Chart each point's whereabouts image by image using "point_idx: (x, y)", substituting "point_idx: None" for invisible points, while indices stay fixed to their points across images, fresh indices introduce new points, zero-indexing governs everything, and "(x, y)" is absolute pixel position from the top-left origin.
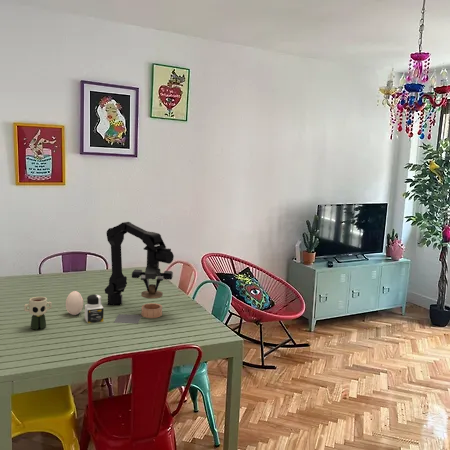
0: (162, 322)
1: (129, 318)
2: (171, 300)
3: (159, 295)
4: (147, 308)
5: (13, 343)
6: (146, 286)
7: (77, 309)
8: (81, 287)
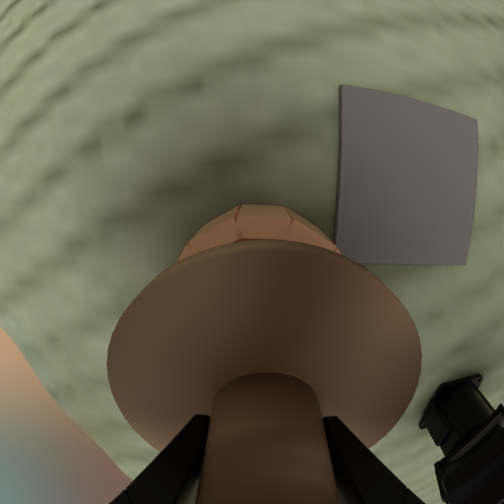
0: (162, 145)
1: (411, 184)
2: None
3: (122, 319)
4: None
5: None
6: (389, 479)
7: None
8: None
